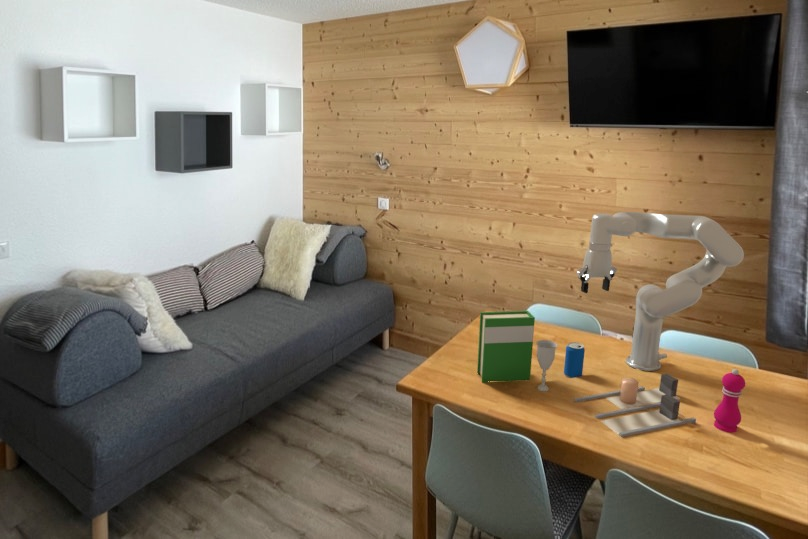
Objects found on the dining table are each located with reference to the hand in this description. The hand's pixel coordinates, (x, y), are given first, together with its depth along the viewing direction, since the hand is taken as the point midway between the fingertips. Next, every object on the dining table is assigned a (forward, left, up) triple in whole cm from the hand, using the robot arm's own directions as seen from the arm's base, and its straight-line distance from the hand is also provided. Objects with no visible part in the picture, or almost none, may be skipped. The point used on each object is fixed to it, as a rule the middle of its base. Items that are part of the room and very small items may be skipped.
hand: (594, 291), depth 210 cm
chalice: (+32, +18, -29) cm, 46 cm away
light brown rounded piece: (+10, +34, -27) cm, 44 cm away
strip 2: (+15, +46, -28) cm, 56 cm away
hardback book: (+39, +3, -29) cm, 48 cm away
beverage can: (+14, +10, -29) cm, 33 cm away
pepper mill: (-8, +56, -29) cm, 63 cm away
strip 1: (+4, +34, -28) cm, 44 cm away
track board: (+13, +40, -28) cm, 51 cm away
